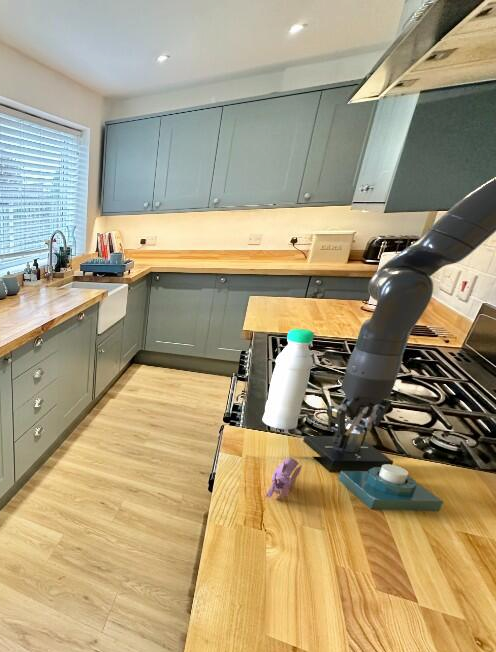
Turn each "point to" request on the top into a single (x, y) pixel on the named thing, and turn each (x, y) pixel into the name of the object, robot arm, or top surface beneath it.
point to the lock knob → (354, 439)
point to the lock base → (345, 455)
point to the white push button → (393, 474)
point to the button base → (389, 492)
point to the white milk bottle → (289, 381)
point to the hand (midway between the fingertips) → (347, 445)
